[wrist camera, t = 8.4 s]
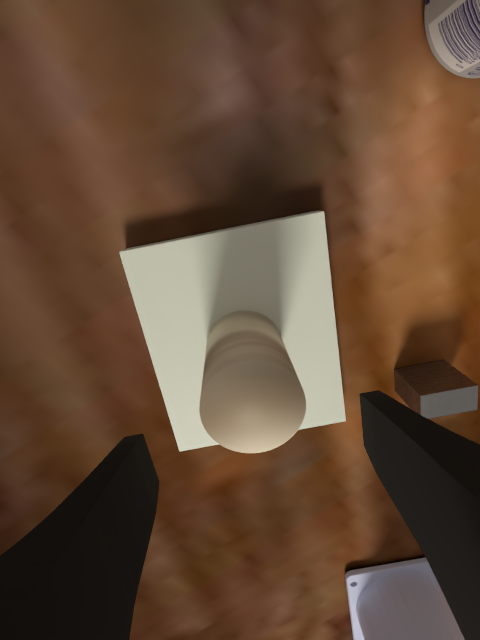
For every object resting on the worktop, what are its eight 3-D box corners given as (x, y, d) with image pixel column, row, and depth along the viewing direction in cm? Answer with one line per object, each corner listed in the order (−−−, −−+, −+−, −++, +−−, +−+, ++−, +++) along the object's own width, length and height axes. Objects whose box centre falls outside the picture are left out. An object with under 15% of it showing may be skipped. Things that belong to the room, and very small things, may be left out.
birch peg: (287, 369, 19) (314, 440, 14) (217, 386, 20) (215, 463, 14) (272, 302, 18) (295, 348, 12) (197, 320, 18) (186, 375, 13)
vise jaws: (443, 468, 24) (473, 504, 21) (399, 476, 24) (422, 513, 21) (444, 359, 21) (478, 385, 18) (393, 369, 21) (420, 395, 18)
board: (339, 409, 22) (345, 421, 21) (181, 438, 22) (179, 451, 21) (317, 210, 18) (323, 211, 17) (125, 248, 18) (119, 251, 17)
